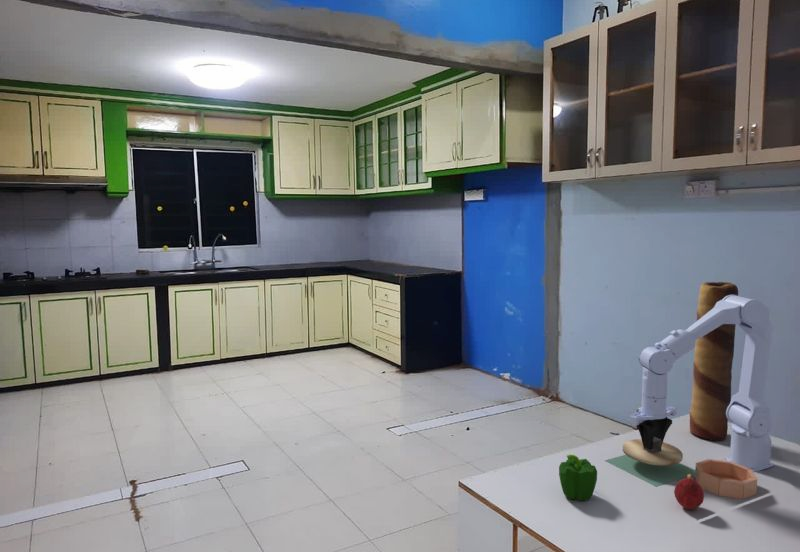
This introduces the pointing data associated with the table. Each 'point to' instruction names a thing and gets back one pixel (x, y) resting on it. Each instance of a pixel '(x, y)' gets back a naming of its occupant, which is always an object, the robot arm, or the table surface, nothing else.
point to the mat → (652, 470)
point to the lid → (653, 452)
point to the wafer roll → (712, 368)
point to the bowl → (726, 478)
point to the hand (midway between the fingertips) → (652, 446)
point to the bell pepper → (577, 478)
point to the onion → (689, 493)
